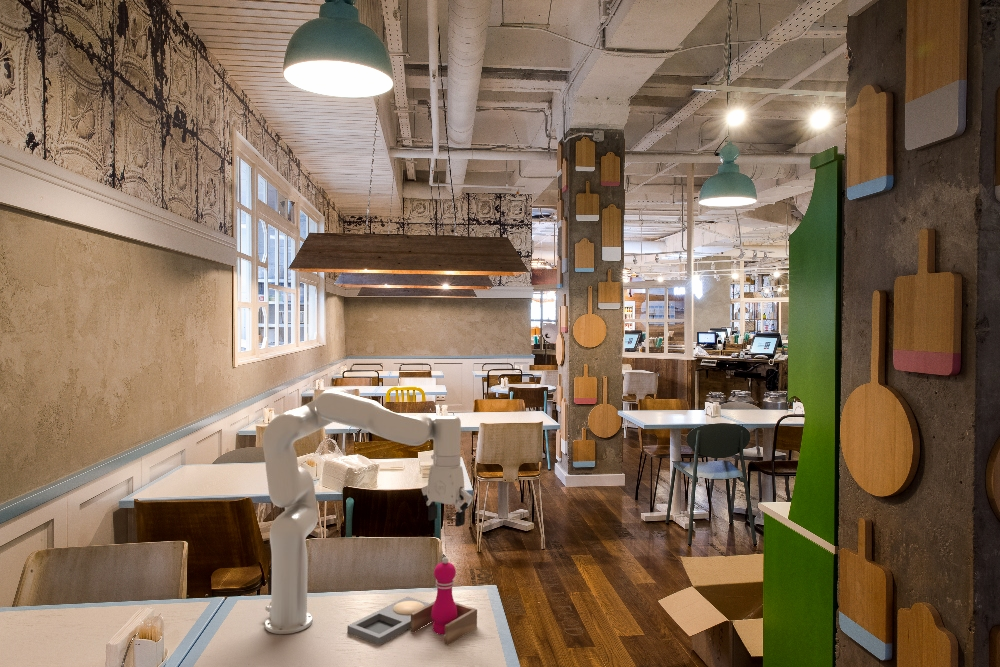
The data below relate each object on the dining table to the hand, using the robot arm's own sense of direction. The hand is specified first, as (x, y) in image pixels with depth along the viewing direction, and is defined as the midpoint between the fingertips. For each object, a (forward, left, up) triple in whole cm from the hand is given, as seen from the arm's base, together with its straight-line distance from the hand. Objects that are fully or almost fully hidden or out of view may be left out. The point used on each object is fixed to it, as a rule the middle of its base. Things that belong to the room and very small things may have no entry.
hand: (446, 522), depth 178 cm
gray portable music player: (-14, -5, -30) cm, 33 cm away
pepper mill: (0, 0, -30) cm, 30 cm away
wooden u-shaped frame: (0, 0, -30) cm, 30 cm away
